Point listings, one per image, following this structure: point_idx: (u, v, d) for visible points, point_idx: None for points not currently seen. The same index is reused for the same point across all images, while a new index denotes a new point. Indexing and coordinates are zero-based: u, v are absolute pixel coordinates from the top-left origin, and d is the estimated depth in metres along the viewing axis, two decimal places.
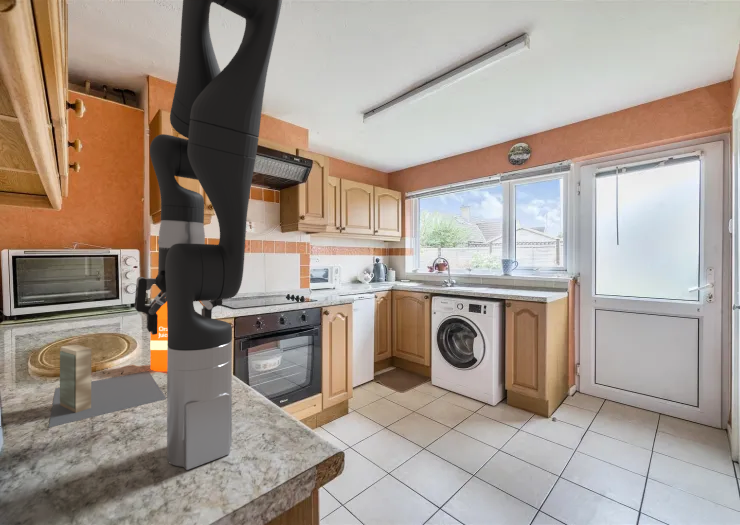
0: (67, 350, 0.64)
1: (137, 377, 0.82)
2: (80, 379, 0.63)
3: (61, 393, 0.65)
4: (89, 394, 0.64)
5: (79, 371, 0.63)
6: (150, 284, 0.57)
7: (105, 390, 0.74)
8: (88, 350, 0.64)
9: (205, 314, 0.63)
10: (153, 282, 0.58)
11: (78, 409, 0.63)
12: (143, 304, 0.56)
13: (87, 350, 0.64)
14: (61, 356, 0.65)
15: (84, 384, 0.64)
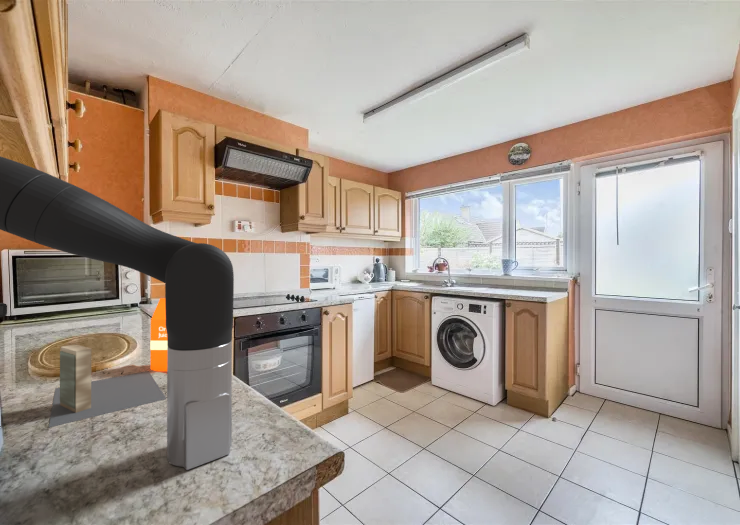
0: (67, 350, 0.64)
1: (137, 377, 0.82)
2: (80, 379, 0.63)
3: (61, 393, 0.65)
4: (89, 394, 0.64)
5: (79, 371, 0.63)
6: None
7: (105, 390, 0.74)
8: (88, 350, 0.64)
9: None
10: None
11: (78, 409, 0.63)
12: None
13: (87, 350, 0.64)
14: (61, 356, 0.65)
15: (84, 384, 0.64)
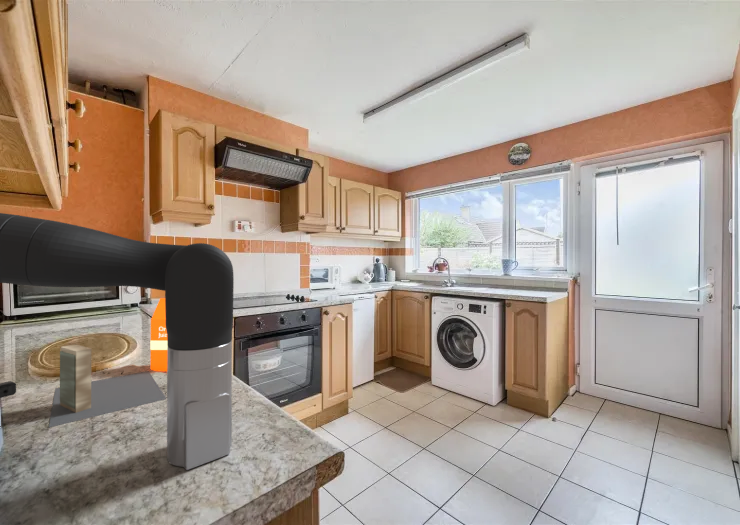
0: (67, 350, 0.64)
1: (137, 377, 0.82)
2: (80, 379, 0.63)
3: (61, 393, 0.65)
4: (89, 394, 0.64)
5: (79, 371, 0.63)
6: None
7: (105, 390, 0.74)
8: (88, 350, 0.64)
9: None
10: None
11: (78, 409, 0.63)
12: None
13: (87, 350, 0.64)
14: (61, 356, 0.65)
15: (84, 384, 0.64)
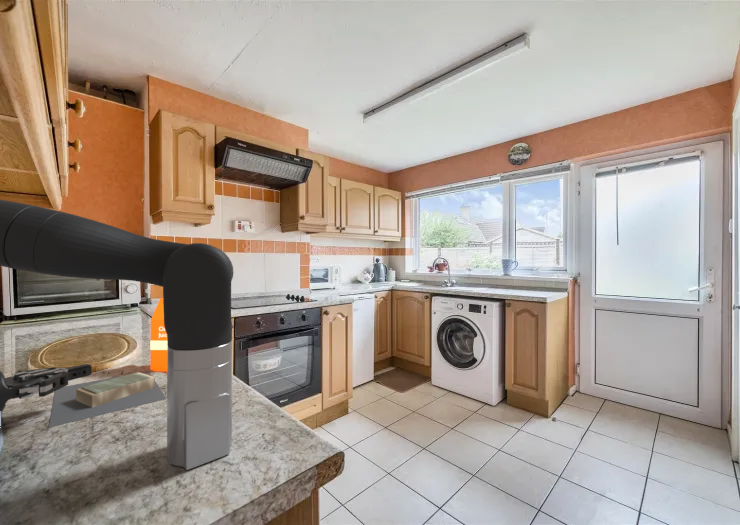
0: (144, 374, 0.77)
1: None
2: (127, 387, 0.70)
3: (94, 384, 0.70)
4: (108, 400, 0.67)
5: (135, 385, 0.72)
6: (38, 385, 0.57)
7: None
8: (153, 385, 0.75)
9: (71, 367, 0.65)
10: (33, 385, 0.57)
11: (95, 396, 0.65)
12: (58, 373, 0.61)
13: (153, 384, 0.75)
14: (132, 374, 0.77)
15: (121, 393, 0.69)
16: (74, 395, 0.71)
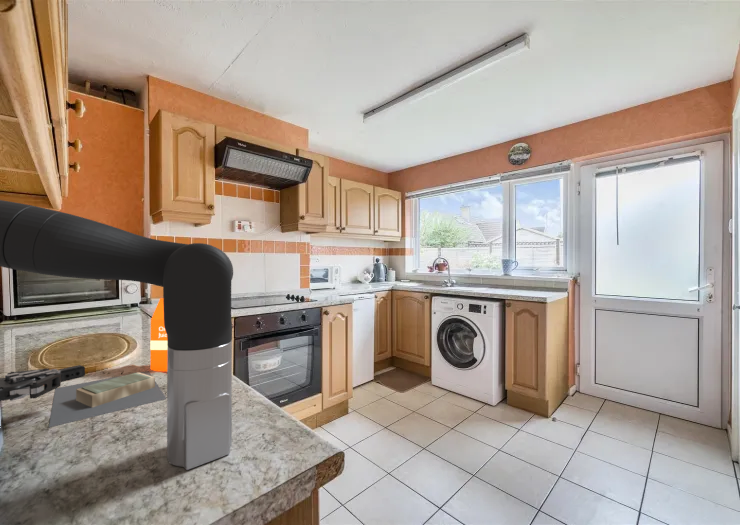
0: (144, 374, 0.77)
1: None
2: (127, 387, 0.70)
3: (94, 384, 0.70)
4: (108, 400, 0.67)
5: (135, 385, 0.72)
6: (29, 386, 0.56)
7: None
8: (153, 385, 0.75)
9: (64, 369, 0.64)
10: (24, 387, 0.56)
11: (95, 396, 0.65)
12: (50, 375, 0.60)
13: (153, 384, 0.75)
14: (132, 374, 0.77)
15: (121, 393, 0.69)
16: (74, 395, 0.71)
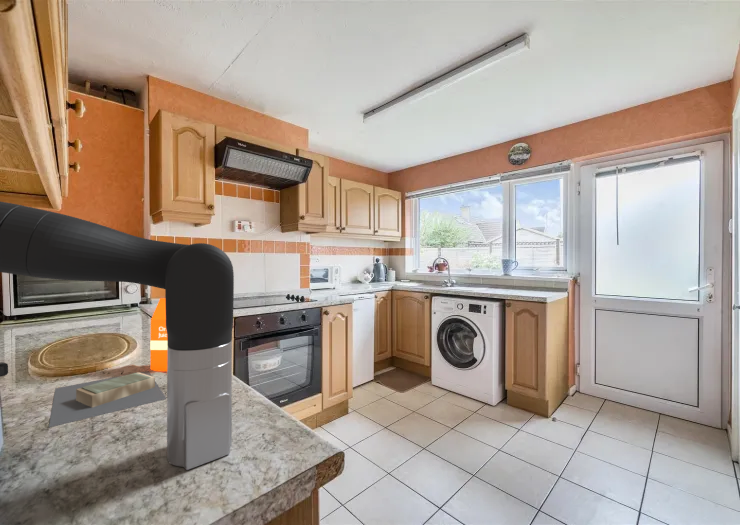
0: (144, 374, 0.77)
1: None
2: (127, 387, 0.70)
3: (94, 384, 0.70)
4: (108, 400, 0.67)
5: (135, 385, 0.72)
6: None
7: None
8: (153, 385, 0.75)
9: None
10: None
11: (95, 396, 0.65)
12: None
13: (153, 384, 0.75)
14: (132, 374, 0.77)
15: (121, 393, 0.69)
16: (74, 395, 0.71)
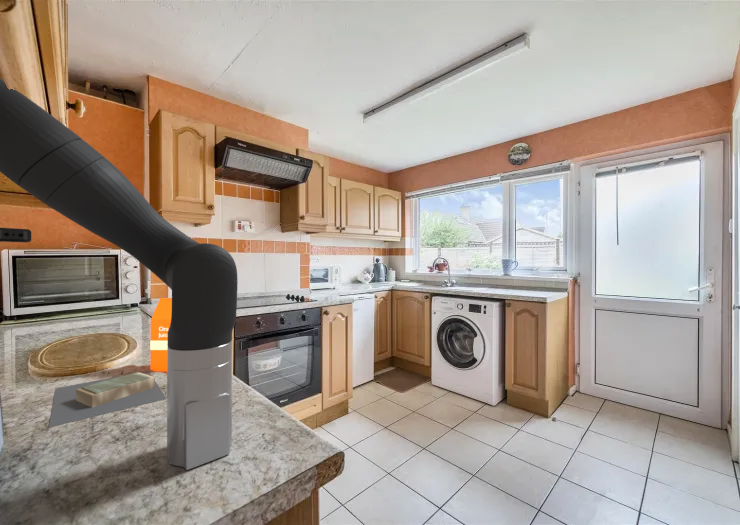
0: (144, 374, 0.77)
1: None
2: (127, 387, 0.70)
3: (94, 384, 0.70)
4: (108, 400, 0.67)
5: (135, 385, 0.72)
6: None
7: None
8: (153, 385, 0.75)
9: None
10: None
11: (95, 396, 0.65)
12: None
13: (153, 384, 0.75)
14: (132, 374, 0.77)
15: (121, 393, 0.69)
16: (74, 395, 0.71)
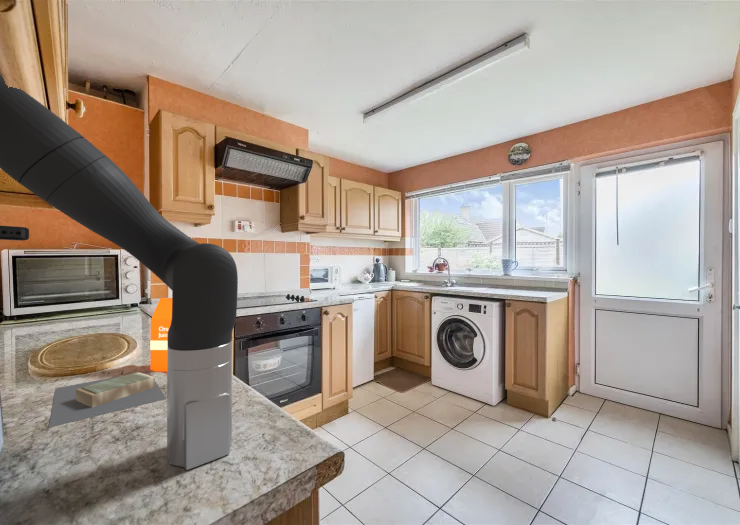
0: (144, 374, 0.77)
1: None
2: (127, 387, 0.70)
3: (94, 384, 0.70)
4: (108, 400, 0.67)
5: (135, 385, 0.72)
6: None
7: None
8: (153, 385, 0.75)
9: (1, 226, 0.52)
10: None
11: (95, 396, 0.65)
12: None
13: (153, 384, 0.75)
14: (132, 374, 0.77)
15: (121, 393, 0.69)
16: (74, 395, 0.71)
